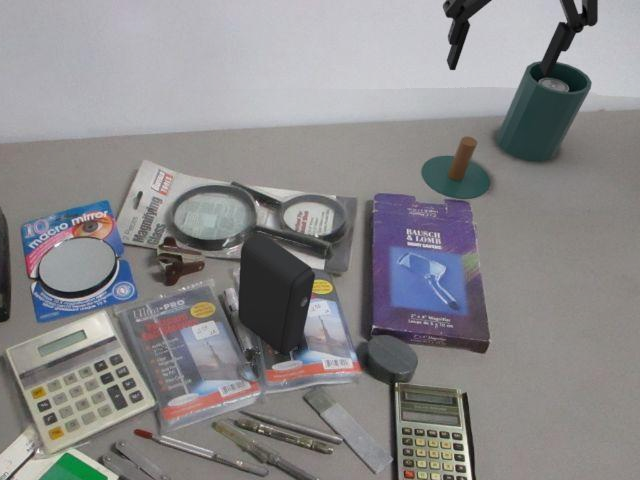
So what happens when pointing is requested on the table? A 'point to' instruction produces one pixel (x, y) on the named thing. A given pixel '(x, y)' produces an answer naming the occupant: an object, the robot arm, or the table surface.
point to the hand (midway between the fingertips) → (497, 68)
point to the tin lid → (457, 173)
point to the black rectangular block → (274, 292)
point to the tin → (542, 112)
